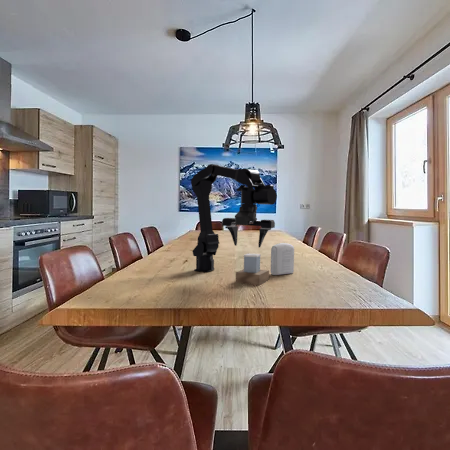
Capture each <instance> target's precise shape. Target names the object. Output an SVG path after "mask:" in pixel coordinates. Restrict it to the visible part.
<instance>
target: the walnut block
mask: <svg viewBox="0 0 450 450" xmlns="http://www.w3.org/2000/svg"><path fill="white" fill-rule="evenodd" d="M269 278H270V270H268V269H267V270H266V269H260V271H259V272H257V273H251V272H244V268H243V269H241V270H238V271H236V272H235V283H238V282H239V284H245V283H246V285H253V286H254V285H255V286H261V285H263V284H264V283H265V284H266V283H267V282H269V281H268V280H270V279H269ZM266 281H267V282H266Z"/></svg>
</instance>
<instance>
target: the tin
mask: <svg viewBox="0 0 450 450" xmlns="http://www.w3.org/2000/svg"><path fill="white" fill-rule="evenodd" d="M243 269H244V272H251V273H257V272H259V271H260V270H261V253H246V254H243Z"/></svg>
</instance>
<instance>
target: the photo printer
mask: <svg viewBox="0 0 450 450" xmlns="http://www.w3.org/2000/svg"><path fill="white" fill-rule="evenodd" d="M294 269H295V247H294V245H293V244H291V243H287V242H280V243H276V244H273V245H272V247H271V249H270V274H271V275H273V276H280V275H287V274H293V273H294V271H295V270H294Z"/></svg>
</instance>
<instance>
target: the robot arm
mask: <svg viewBox="0 0 450 450" xmlns="http://www.w3.org/2000/svg"><path fill="white" fill-rule="evenodd" d="M218 176H219V177H223V178H227V179H232V180H234V181H235V182H237V183H239V184H240V185H239V187H238V188H236V191H237V192H241V193H240V195H241V196H240V197H241V198H240V206H239V207H238V208H239V211H238V212H236V214H235V215H234V217H223V219H222V220H221V226H223V227H224V228H225V229H227V230H228V231H229V233H230V235H231V238H232V241H233V243H234V246H237V245H238V228H239V227H238V226H251V227H252V226H253V227H260V228H259V230H258V231H259V235H258V248H261V246H262V245H263V242H264V239H265V237H266V235H267V233H268V232H269V231H271V230H272V229H273V228H275V227H276V226H275V225H276V223H275V219H261V220H258V218H257V210H258V206H257V205H271V206H272V205H275V203H276V202H277V198H278V195H277V191H276V190H275V188H274V185H273V184H265V183H264V181H263V178H262V177H261V174H260V172H259V171H258V170H257V169H250V168H231V167H227V166H222V165H219V164H215V163H214V164H213V163H209V164H208V165H206V167H204V168H203V169H201V170H199V171H197V172H196V173H195V174H194V175H193V176H192V178H190V183H191V184H190V185H191V189H192V192H193V193H194V194H195V196H196V198H197V199H196V200H197V209H198V220H199V221H198V222H199V228H200V232H199V233H198V234H199V235H198V236H197V245H196V246H195V247H194V248H193V249H192V256H194V257H195V258H196V260H195V265H196V266H195V268H194V272H205V273H209V272H212V271H213V270H214V271H215V259H214V256H215V255H217V251H218V249H219V248H220V246H219V245H220V241H219V239H220V238H219V234H218V233H215V232H214V230H213V223H212V222H213V221H212V213H211V211H212V210H211V203H210V195H211V192H212V190H213V184H214V183H215V182H216V181H217V177H218Z"/></svg>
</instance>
